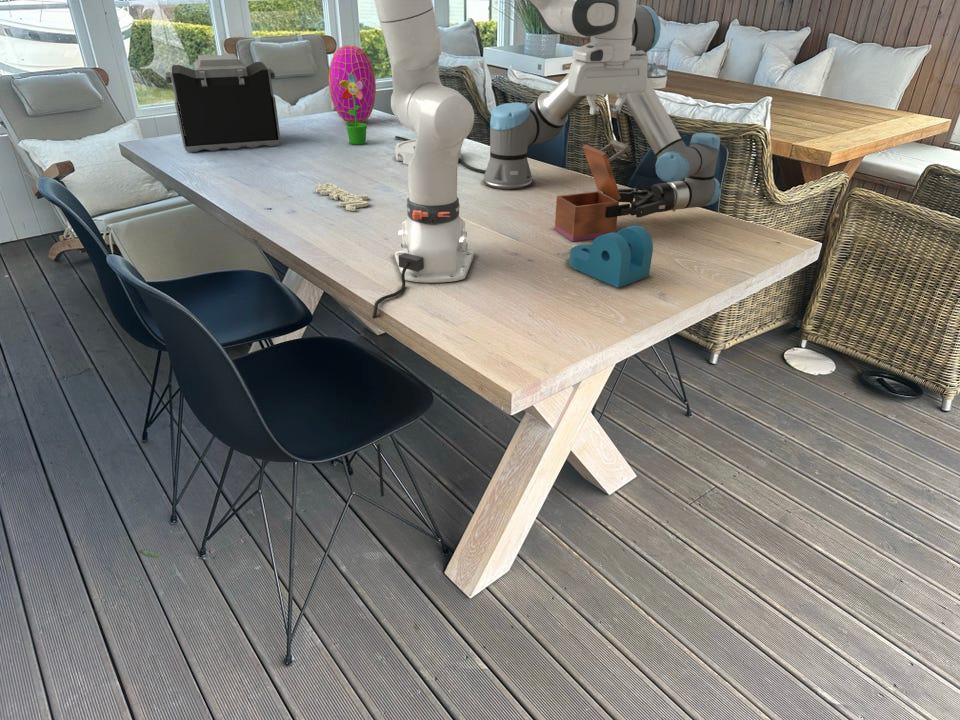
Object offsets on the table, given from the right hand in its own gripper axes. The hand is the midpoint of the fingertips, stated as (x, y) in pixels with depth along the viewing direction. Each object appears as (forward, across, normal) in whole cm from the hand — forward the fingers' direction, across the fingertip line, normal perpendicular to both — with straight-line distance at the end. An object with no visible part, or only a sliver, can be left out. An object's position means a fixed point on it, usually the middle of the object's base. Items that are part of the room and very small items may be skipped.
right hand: (596, 206), depth 178 cm
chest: (+3, 0, -7) cm, 7 cm away
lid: (0, 0, +8) cm, 8 cm away
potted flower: (+34, +117, -7) cm, 122 cm away
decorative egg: (+26, +153, -7) cm, 155 cm away
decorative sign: (+55, +52, -7) cm, 75 cm away
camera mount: (+12, -24, -7) cm, 27 cm away
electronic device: (+78, +132, -7) cm, 154 cm away
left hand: (0, 0, +23) cm, 23 cm away
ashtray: (+16, +86, -7) cm, 88 cm away
